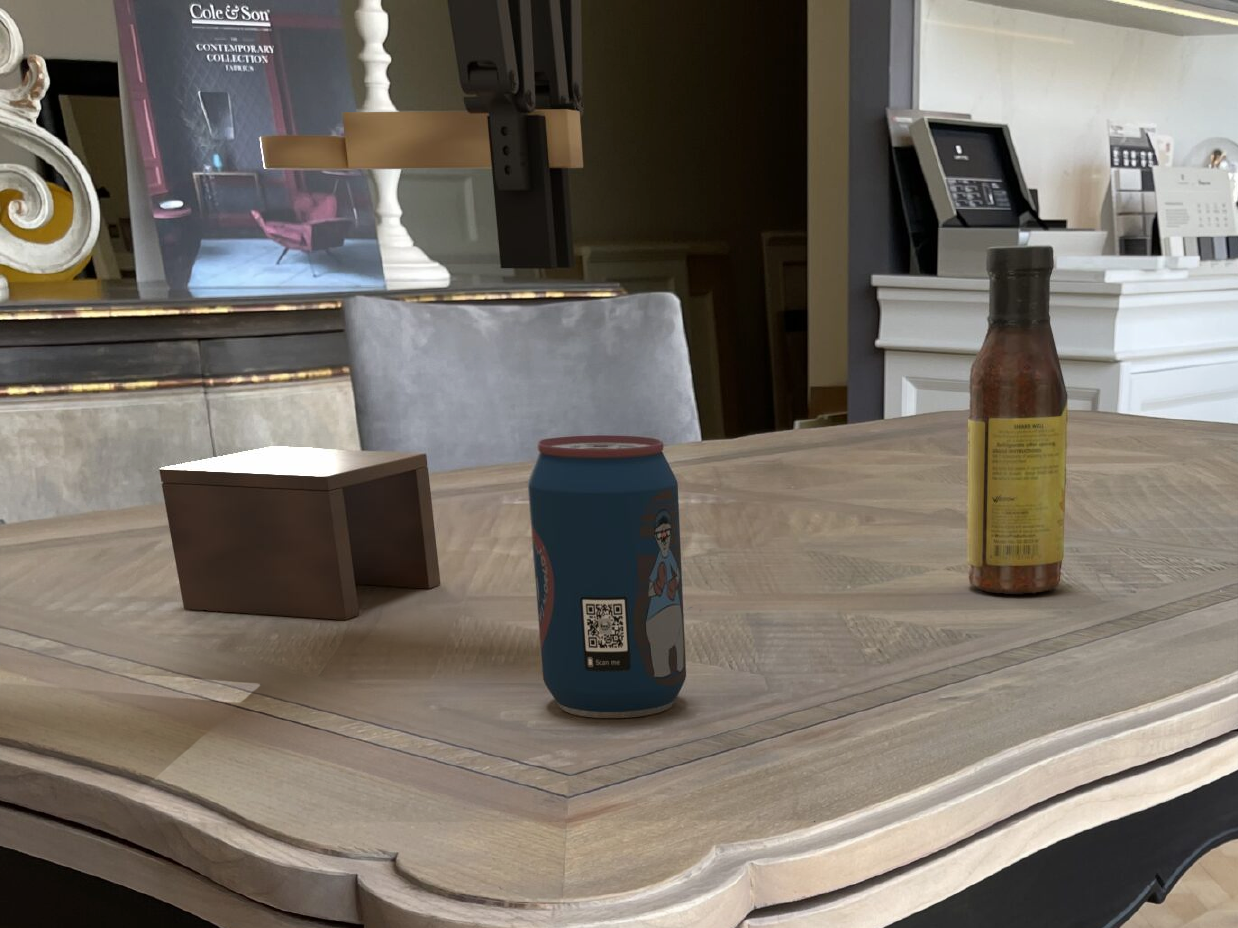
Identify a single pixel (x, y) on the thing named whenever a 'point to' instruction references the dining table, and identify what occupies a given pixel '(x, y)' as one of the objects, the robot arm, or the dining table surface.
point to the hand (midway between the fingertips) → (538, 266)
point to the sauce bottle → (1017, 432)
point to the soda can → (608, 574)
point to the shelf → (299, 529)
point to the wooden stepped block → (415, 142)
